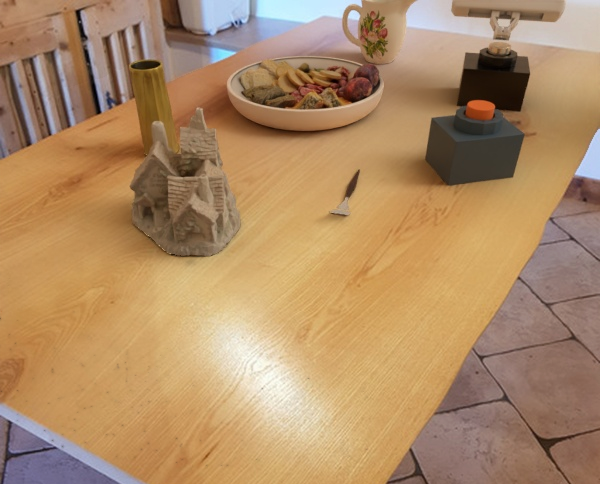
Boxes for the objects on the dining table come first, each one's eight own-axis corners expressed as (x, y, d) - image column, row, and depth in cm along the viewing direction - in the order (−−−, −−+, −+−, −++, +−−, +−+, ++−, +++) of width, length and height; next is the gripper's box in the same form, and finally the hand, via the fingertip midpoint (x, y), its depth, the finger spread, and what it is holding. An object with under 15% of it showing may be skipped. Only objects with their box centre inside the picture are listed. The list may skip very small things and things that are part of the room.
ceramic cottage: (148, 188, 84) (128, 92, 73) (253, 201, 82) (248, 104, 71) (105, 253, 73) (75, 152, 62) (225, 269, 71) (214, 167, 60)
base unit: (518, 93, 113) (530, 46, 107) (520, 111, 105) (533, 63, 99) (458, 88, 115) (467, 42, 109) (456, 106, 108) (465, 58, 102)
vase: (151, 162, 91) (133, 73, 81) (138, 148, 95) (119, 62, 85) (185, 152, 93) (171, 66, 84) (171, 139, 97) (156, 55, 88)
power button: (508, 52, 106) (511, 42, 104) (509, 58, 103) (511, 48, 101) (487, 50, 106) (489, 41, 105) (487, 57, 103) (489, 47, 102)
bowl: (223, 140, 97) (219, 95, 92) (233, 80, 119) (230, 42, 114) (392, 136, 97) (397, 92, 92) (370, 78, 120) (373, 39, 115)
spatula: (367, 173, 88) (368, 162, 86) (345, 226, 76) (345, 214, 75) (351, 171, 88) (351, 159, 87) (327, 223, 77) (327, 211, 75)
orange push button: (484, 110, 84) (487, 98, 83) (497, 120, 81) (500, 108, 80) (460, 112, 84) (462, 101, 83) (472, 123, 81) (475, 111, 80)
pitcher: (351, 47, 137) (354, -15, 128) (419, 57, 130) (428, -8, 121) (331, 59, 130) (333, -6, 121) (402, 71, 123) (410, 3, 114)
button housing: (485, 152, 92) (498, 99, 86) (513, 177, 86) (528, 122, 80) (424, 159, 91) (433, 106, 85) (447, 186, 84) (458, 129, 78)
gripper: (458, -46, 102) (446, 25, 102) (574, -42, 98) (562, 32, 98) (455, -24, 109) (443, 43, 108) (564, -19, 105) (553, 51, 104)
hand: (501, 38), depth 103 cm, fingers closed
